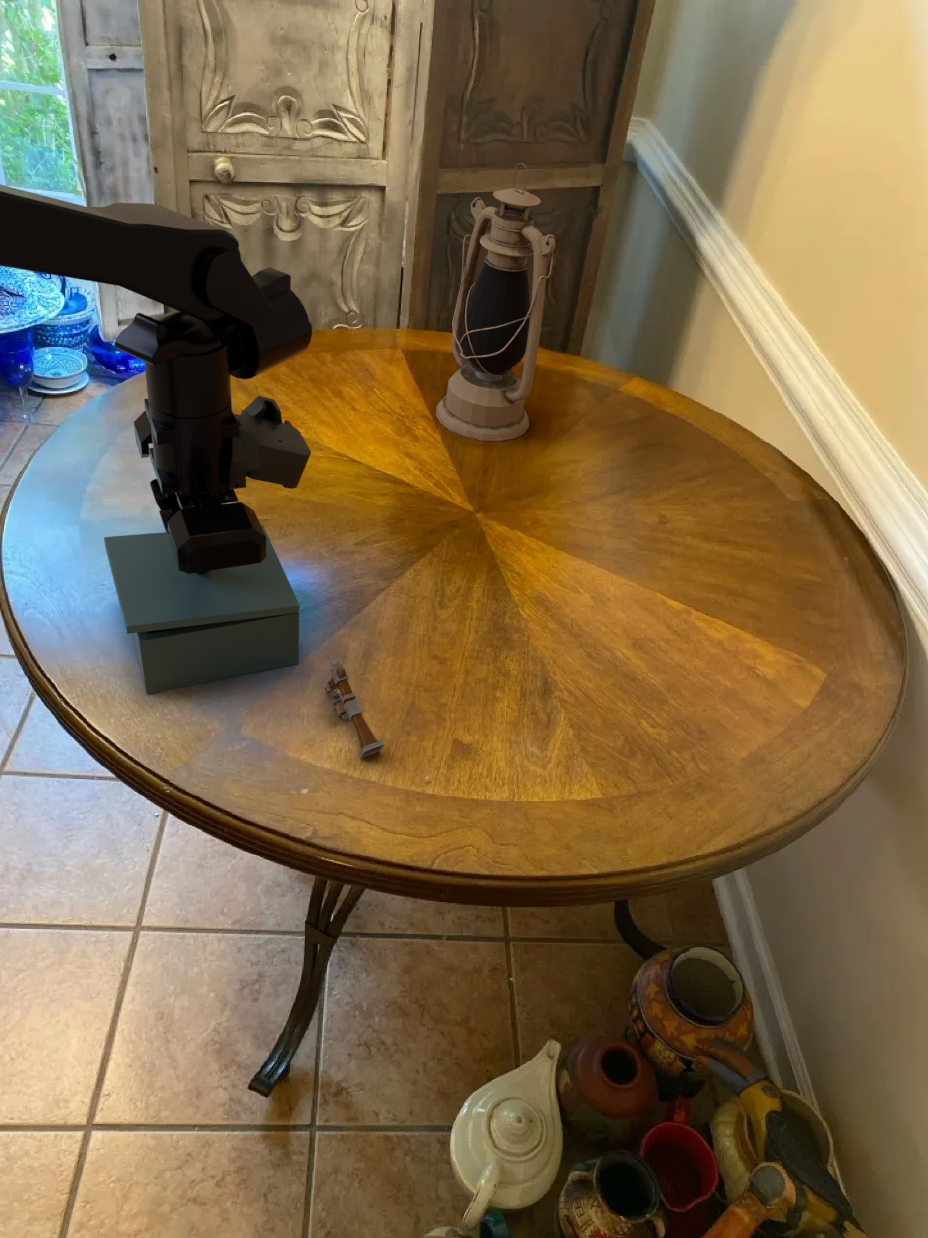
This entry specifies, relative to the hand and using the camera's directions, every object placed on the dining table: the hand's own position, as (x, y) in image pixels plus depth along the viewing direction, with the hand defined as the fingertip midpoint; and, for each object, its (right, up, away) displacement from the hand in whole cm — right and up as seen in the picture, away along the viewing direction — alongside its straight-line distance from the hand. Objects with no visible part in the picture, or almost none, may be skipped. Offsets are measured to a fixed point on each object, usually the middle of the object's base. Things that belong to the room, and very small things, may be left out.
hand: (202, 570), depth 75 cm
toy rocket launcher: (+12, -13, -1) cm, 18 cm away
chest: (-1, -5, +5) cm, 7 cm away
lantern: (+24, +22, +41) cm, 52 cm away
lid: (0, -1, +1) cm, 1 cm away
